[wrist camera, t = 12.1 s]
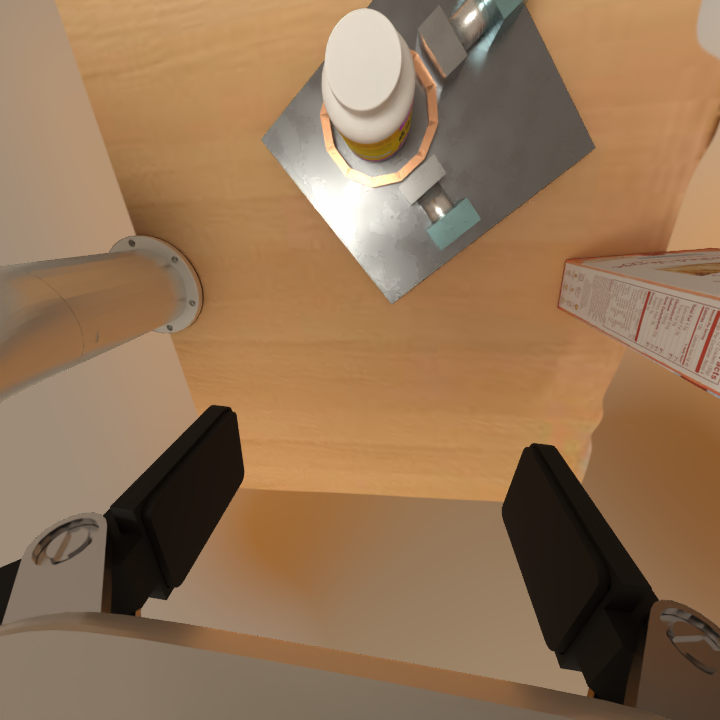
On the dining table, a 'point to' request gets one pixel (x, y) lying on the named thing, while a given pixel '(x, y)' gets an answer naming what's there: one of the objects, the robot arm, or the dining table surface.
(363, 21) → the supplement bottle
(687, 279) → the cracker box
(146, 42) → the dining table surface
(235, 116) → the dining table surface
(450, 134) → the base
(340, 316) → the dining table surface
